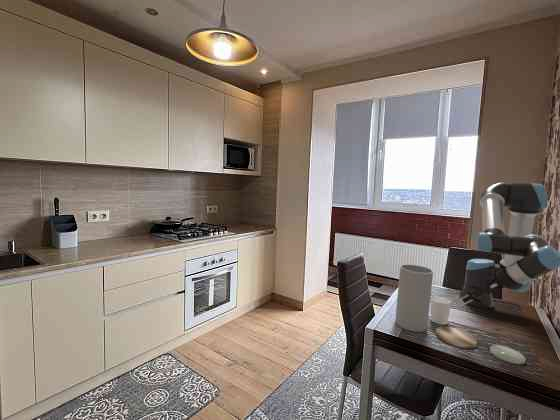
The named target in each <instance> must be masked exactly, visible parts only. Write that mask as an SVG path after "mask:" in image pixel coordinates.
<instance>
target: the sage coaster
mask: <svg viewBox="0 0 560 420" xmlns="http://www.w3.org/2000/svg"><path fill="white" fill-rule="evenodd" d="M489 352H490V353H491V354H492V356H493V357H495V358H497V359H499V360H501V361H504V362H506V363H509V364H515V365H523V364H525V363H526V357H525V356H524V354H522V353H520V352H519V351H517V350H515V349H513V348H510V347H508V346H504V345H496V344H492V345H491V346H490V347H489Z"/></svg>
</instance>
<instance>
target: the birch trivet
mask: <svg viewBox="0 0 560 420" xmlns="http://www.w3.org/2000/svg"><path fill="white" fill-rule="evenodd" d="M435 336H436V337H437V338H438V340H439V339H440V340H441V341H442V342H444V343H446V344H448V345H451V346H455V347H458V348H461V349H474V348H476V347H477V346H478V344H477V343H478V340H477V338H476V337H475V336H473V335H472V334H470V333H469V332H467V331H465V330H462V329H459V328H456V327H451V326H437V328H435Z"/></svg>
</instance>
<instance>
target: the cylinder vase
mask: <svg viewBox="0 0 560 420" xmlns="http://www.w3.org/2000/svg"><path fill="white" fill-rule="evenodd" d="M433 277H434V270H433V269H431V268H429V267H427V266H422V265H417V264H409V263H407V264H405V263H404V264H401V265H400V266H399V277H398V287H397V296H396V297H397V299H396V300H397V301H396V308H395V309H396V310H395V319H394V321H395V324H396V325H397V326H398V327H400V328H402V329H404V330H405V331H410V332H414V333H423V332H426V331H427V330H428V323H429V317H430V314H429V313H430V307H431V297H432V287H433V286H432V285H433Z"/></svg>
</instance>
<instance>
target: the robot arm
mask: <svg viewBox="0 0 560 420" xmlns="http://www.w3.org/2000/svg"><path fill="white" fill-rule="evenodd" d="M547 194H548V193H547V189H546V187H545V185H544V184H542V183H534V182H504V181H502V182H498V183H495V184H492V185H490V186H489V187H487V188H486V189H484V190H483V192H482V193H481V194H480V197H479V205H480V207H481V209H482V211H481V212H482V213H481V214H482V215H481V219H482V220H481V221H482V225H481V230H482V231H481V232H478V233H477V235H476V242H475V243H476V245H475V247H476V250H477V251H481V252H487V253H492V254H500V255H504V258H503V259H501V260H499V264H498V263H497V264H496V263H495V261H494V260H492V259H487V258H486V259H485V258H472V259H469V260H468V261H467V264H466V267H465V277H464V286H463V287H462V289H461V291H460V293H459V295H458V299H456V300H454V302H455V305H457V307H458V308H461V307H463V306H465V305H468V306H472V307H476V308H479V309H480V308H481V309H493V307H494V299H493V295H492V293H493V292H495V291H500V290H501V289H504V290H511V291H514V292H521V293H524V292H527V291H529V289H530V288H531V286H532V283H533V281H534V280H535V279H537V278H539V277H541V276H543V275H546V274H548V273H551V272H553V271H556V270H557V269H559V268H560V251H559V250H557V248H555V247H554V246H551V245H549V243H548V242H547V241H546V239H545V238H544V237H543V236H541V235H538V234H534V233H533V228H534V221H535V218H536V216H538V215H539V214H540V213H541V210H543V211H544V210H545V209H546V208H547V205H548V204H547V203H548V195H547ZM504 207H506V208H507V207H508V208H507V211H508V212H509V213H510V214H511V215H510V221H509V222H510V223H509V226H508V234H507V235H506V231H505V230H506V229H505V220H504V210H503V209H504Z"/></svg>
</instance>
